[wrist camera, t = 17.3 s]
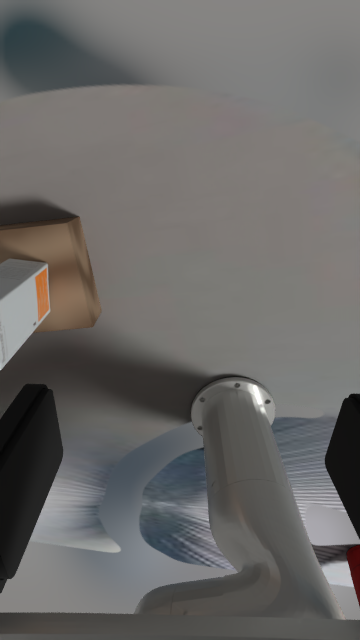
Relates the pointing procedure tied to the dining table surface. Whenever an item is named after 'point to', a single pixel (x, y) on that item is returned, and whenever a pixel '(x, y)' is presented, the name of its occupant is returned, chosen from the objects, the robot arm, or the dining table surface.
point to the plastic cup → (355, 568)
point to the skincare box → (21, 303)
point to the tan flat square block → (57, 268)
